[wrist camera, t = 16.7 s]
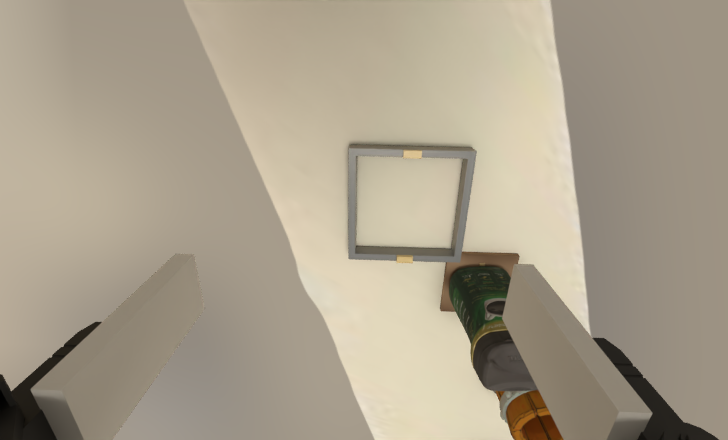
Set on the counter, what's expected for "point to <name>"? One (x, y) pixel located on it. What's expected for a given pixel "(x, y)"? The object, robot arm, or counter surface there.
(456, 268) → the pad
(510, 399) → the mug
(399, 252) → the grey square shallow frame
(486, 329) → the coffee jar
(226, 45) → the counter surface
